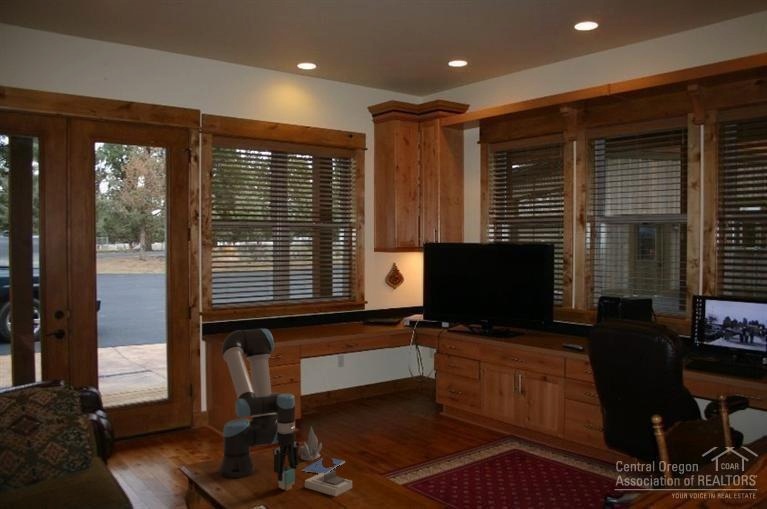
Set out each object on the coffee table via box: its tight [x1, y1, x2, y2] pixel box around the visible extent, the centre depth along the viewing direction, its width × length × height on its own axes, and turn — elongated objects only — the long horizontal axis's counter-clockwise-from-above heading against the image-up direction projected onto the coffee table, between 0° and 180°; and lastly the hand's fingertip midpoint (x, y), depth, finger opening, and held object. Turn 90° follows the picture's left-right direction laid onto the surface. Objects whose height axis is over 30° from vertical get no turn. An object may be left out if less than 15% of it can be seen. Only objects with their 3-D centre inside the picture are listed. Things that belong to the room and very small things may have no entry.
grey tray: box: [304, 473, 353, 497], centre depth 273 cm, size 17×11×4 cm, turn 55°
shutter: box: [324, 469, 346, 486], centre depth 271 cm, size 6×6×3 cm
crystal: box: [299, 426, 323, 461], centre depth 311 cm, size 10×13×15 cm
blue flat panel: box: [301, 457, 346, 474], centre depth 299 cm, size 19×13×1 cm, turn 153°
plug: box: [277, 465, 296, 491], centre depth 272 cm, size 5×5×10 cm
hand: (286, 485), depth 273 cm, fingers closed on plug, 5 cm apart
